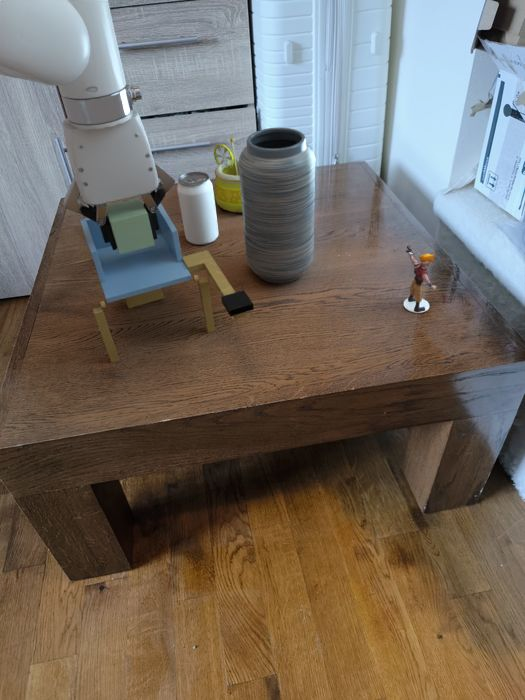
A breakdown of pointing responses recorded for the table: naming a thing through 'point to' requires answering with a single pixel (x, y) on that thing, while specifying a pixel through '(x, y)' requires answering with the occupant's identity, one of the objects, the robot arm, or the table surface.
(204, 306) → the tan bar frame
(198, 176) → the can
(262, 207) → the vase
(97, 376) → the table surface
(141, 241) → the block
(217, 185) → the yellow lemon pot
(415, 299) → the action figure
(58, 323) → the table surface
